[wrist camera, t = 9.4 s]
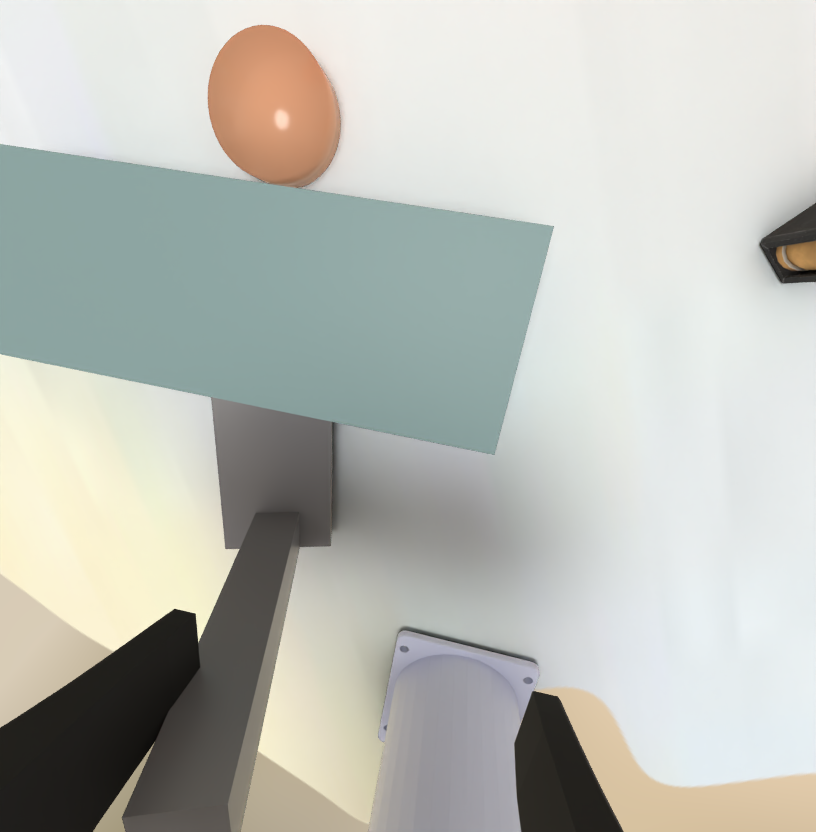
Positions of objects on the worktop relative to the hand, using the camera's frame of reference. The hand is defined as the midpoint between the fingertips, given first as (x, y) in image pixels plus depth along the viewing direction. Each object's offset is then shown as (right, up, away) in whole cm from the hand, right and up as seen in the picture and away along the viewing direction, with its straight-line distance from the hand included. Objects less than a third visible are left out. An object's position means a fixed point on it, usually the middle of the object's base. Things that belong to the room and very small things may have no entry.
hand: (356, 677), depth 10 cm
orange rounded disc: (-3, +18, +5) cm, 19 cm away
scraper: (-5, +6, +8) cm, 11 cm away
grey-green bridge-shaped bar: (-4, +12, +7) cm, 14 cm away
